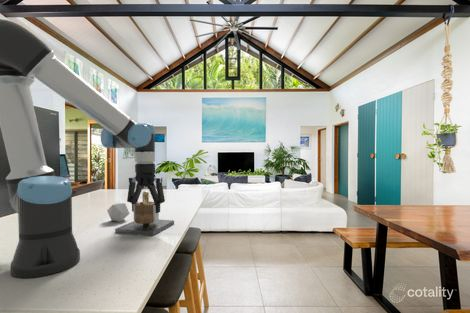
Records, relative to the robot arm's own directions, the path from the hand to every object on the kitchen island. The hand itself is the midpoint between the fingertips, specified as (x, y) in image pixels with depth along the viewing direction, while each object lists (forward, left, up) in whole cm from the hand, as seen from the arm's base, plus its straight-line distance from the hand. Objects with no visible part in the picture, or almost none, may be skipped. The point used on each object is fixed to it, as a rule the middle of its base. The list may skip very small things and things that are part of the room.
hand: (146, 220), depth 106 cm
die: (+8, +19, -3) cm, 21 cm away
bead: (0, 0, 0) cm, 0 cm away
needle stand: (0, 0, -3) cm, 3 cm away
